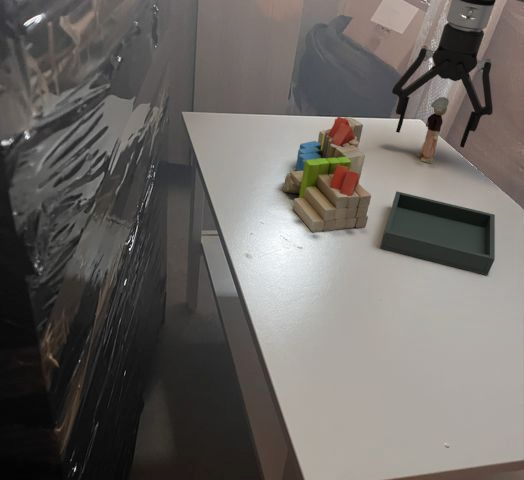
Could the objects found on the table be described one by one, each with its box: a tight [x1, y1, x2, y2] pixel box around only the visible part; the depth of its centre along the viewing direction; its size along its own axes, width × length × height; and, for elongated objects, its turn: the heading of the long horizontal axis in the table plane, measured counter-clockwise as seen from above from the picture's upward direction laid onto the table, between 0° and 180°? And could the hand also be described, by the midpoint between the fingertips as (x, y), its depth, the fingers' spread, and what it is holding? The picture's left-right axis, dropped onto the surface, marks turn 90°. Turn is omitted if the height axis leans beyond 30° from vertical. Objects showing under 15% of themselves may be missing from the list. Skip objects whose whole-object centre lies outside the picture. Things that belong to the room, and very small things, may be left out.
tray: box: [379, 190, 496, 276], centre depth 99 cm, size 18×16×3 cm
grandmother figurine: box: [417, 96, 450, 164], centre depth 121 cm, size 8×4×13 cm, turn 12°
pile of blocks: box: [282, 116, 372, 233], centre depth 107 cm, size 36×15×11 cm, turn 177°
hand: (429, 137), depth 123 cm, fingers open, 13 cm apart
